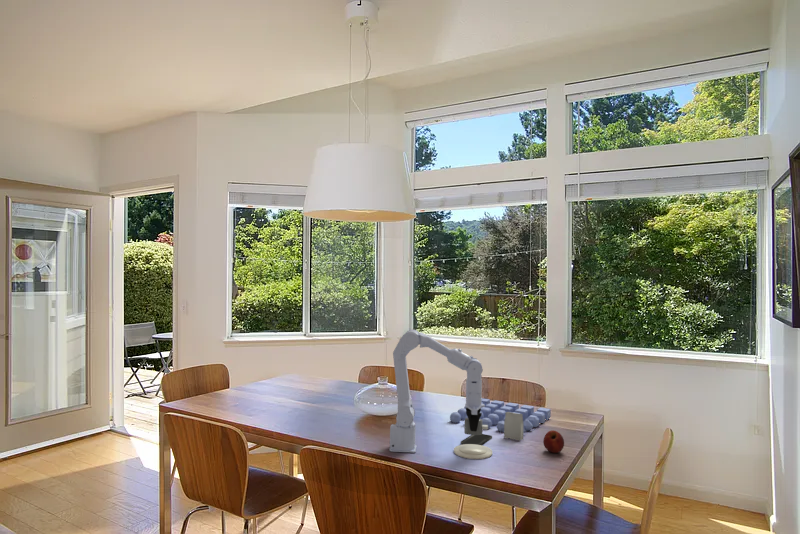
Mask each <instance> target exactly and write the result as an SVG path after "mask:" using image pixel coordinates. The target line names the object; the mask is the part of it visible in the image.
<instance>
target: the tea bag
mask: <svg viewBox="0 0 800 534" xmlns="http://www.w3.org/2000/svg"><path fill="white" fill-rule="evenodd" d="M503 433H504V434H503V439H504V438H505V439H508V438H510V440H514V439H515V441H520V440H521V441H522V440H523V439H524V433H523V415H522V414H518V413H511V412H506V414H505V422H504V432H503Z"/></svg>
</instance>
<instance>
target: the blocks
mask: <svg viewBox="0 0 800 534" xmlns="http://www.w3.org/2000/svg"><path fill="white" fill-rule="evenodd" d="M481 404H484V405H485V407H481V411H480V413H482V415H481V417H480V419H482V425H488V429H487V430H489V429H491V427H492V426H496V429H497V431H499V432H500V433H501V432H502V433H504V422H505V414H506V412H511V413H518V414H522V415H523V434H524V433H526V432H529V431H531V430H532V429H533V427H536V428H537V427H539V426H540V424H539V423H543V424H545V423H546V421H545V419H546V420H548V419H549V418H550V417H551V416H552V415H551V408H545V407H539V408H538V409H536V411H535V407H534V406H533V405H527V404H523V405H522V406H520V404H519V403H514V402H508V403H506V404H505V401H503V400H502V401H501V400H493V401H491V399H489V398H483V397H482V403H481ZM466 408H467V407H466V406H465V405H464V407H463V408H459V409H458V410H457V411H454V412H453V411H452V413H451V414H450V415H449V419H450V420H449V421H450V422H452V423H453V422H455V423H454V424H459V423H460V422H461V420H462V419H466V418H468V416H467V414H466ZM549 420H550V419H549ZM549 420H548V421H549ZM458 422H459V423H458Z"/></svg>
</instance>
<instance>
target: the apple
mask: <svg viewBox="0 0 800 534" xmlns="http://www.w3.org/2000/svg"><path fill="white" fill-rule="evenodd" d="M542 443H543V447H544V448H545V449H546V450H547V451H548V452H549V453H552V454H557V453H560V452H562V450H563V449H564V447H565V440H564V437H563V435H562V434H561V433H560V432H559V431H556V430H549V431H547V432H546V434H545V435H544V437H543V442H542Z"/></svg>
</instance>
